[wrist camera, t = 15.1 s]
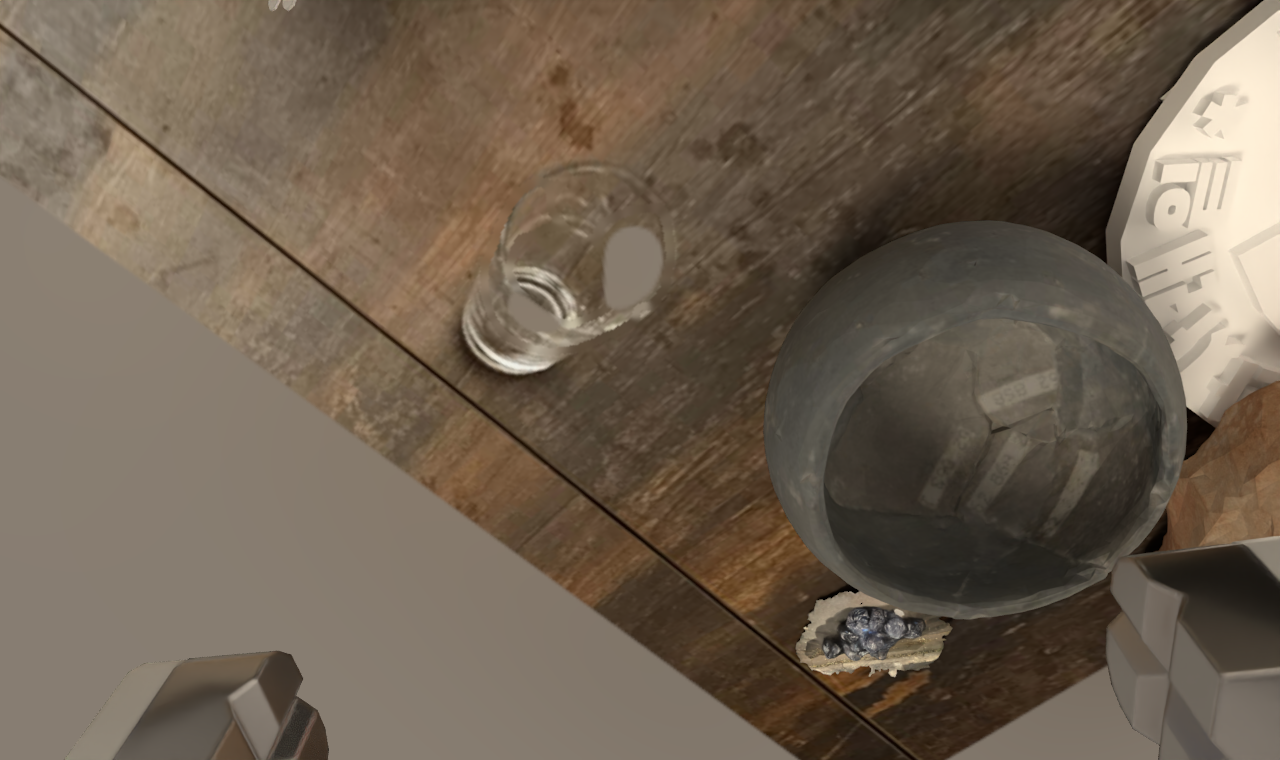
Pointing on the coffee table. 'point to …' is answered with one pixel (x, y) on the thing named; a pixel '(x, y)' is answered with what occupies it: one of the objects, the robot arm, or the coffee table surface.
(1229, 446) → the stone
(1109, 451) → the bowl
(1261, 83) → the giant coin
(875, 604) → the geode
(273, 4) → the decorative flower
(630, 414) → the coffee table surface
